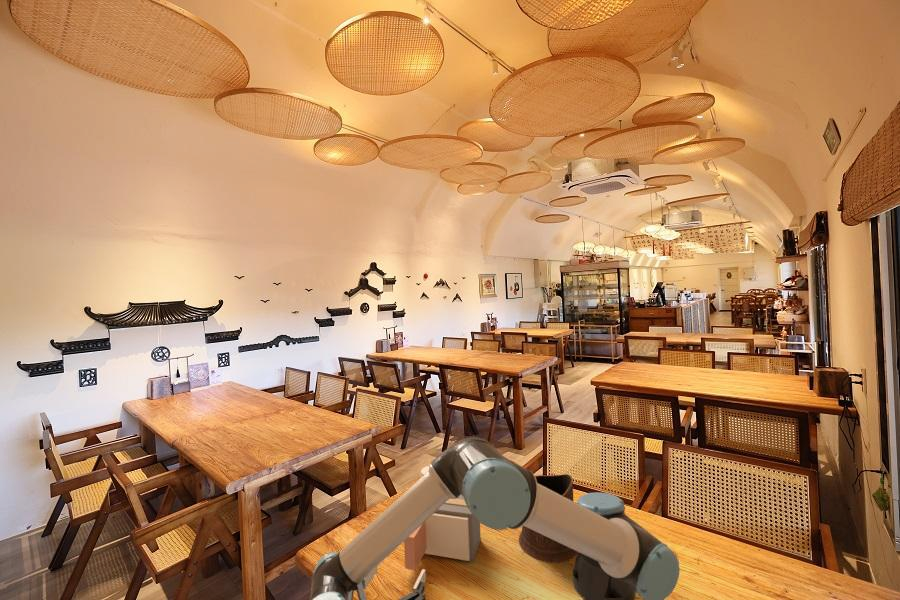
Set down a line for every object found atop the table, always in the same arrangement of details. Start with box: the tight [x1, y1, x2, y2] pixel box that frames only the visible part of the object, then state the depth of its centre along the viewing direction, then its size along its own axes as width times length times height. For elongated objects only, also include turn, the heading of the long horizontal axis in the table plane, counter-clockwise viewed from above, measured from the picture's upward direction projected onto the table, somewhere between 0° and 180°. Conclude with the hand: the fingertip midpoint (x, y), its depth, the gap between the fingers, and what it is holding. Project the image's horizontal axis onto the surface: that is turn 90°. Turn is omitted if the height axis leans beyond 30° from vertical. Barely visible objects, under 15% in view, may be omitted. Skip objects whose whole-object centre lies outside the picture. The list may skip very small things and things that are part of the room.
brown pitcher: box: [513, 461, 578, 564], centre depth 117 cm, size 18×24×25 cm
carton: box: [424, 494, 482, 563], centre depth 116 cm, size 18×10×14 cm, turn 73°
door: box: [403, 513, 470, 571], centre depth 106 cm, size 16×10×12 cm, turn 73°
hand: (399, 569), depth 97 cm, fingers open, 13 cm apart
